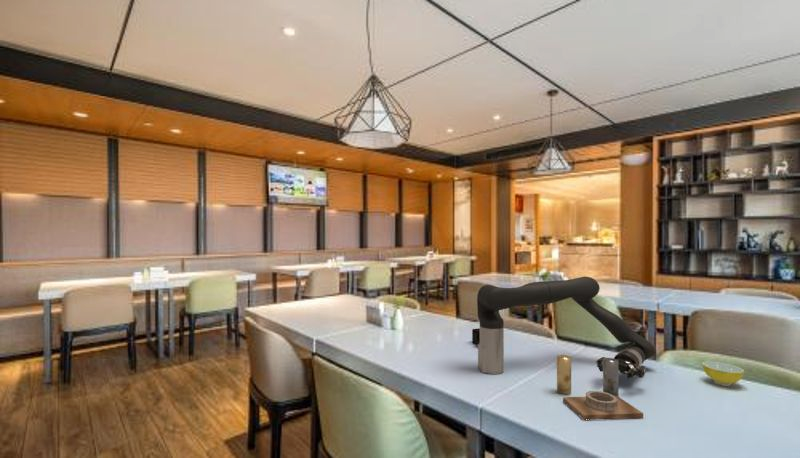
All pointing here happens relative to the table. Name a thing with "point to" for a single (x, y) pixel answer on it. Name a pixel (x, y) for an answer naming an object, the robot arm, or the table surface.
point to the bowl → (723, 373)
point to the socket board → (602, 414)
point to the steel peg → (610, 376)
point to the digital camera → (476, 336)
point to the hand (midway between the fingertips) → (614, 372)
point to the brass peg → (564, 374)
